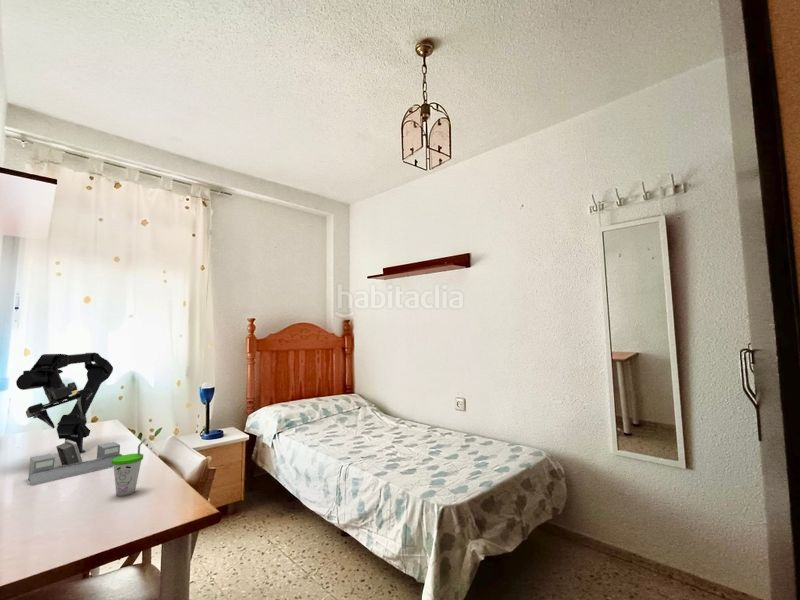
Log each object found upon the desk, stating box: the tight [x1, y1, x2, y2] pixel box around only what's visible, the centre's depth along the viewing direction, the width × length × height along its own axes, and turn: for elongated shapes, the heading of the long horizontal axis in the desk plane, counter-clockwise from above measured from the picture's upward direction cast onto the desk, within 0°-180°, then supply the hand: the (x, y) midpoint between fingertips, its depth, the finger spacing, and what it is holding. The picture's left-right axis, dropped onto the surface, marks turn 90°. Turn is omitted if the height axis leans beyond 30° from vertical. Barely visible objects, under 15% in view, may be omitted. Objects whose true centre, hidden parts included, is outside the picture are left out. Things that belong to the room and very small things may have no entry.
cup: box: [112, 438, 147, 497], centre depth 111 cm, size 8×8×15 cm
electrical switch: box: [55, 439, 83, 466], centre depth 136 cm, size 9×5×9 cm, turn 57°
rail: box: [29, 453, 123, 486], centre depth 128 cm, size 2×24×4 cm, turn 142°
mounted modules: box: [27, 441, 121, 482], centre depth 130 cm, size 7×23×7 cm, turn 142°
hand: (69, 422), depth 141 cm, fingers open, 9 cm apart
